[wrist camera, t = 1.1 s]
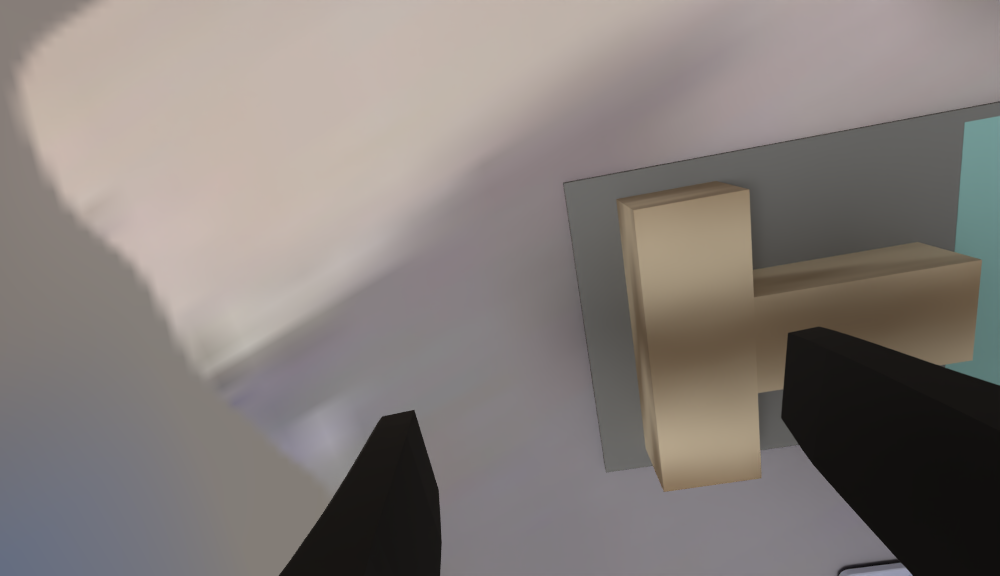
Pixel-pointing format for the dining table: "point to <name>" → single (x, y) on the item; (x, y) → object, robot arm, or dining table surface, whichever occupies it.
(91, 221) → the dining table surface
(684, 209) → the t block
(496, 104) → the dining table surface
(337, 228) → the dining table surface
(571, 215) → the push mat
